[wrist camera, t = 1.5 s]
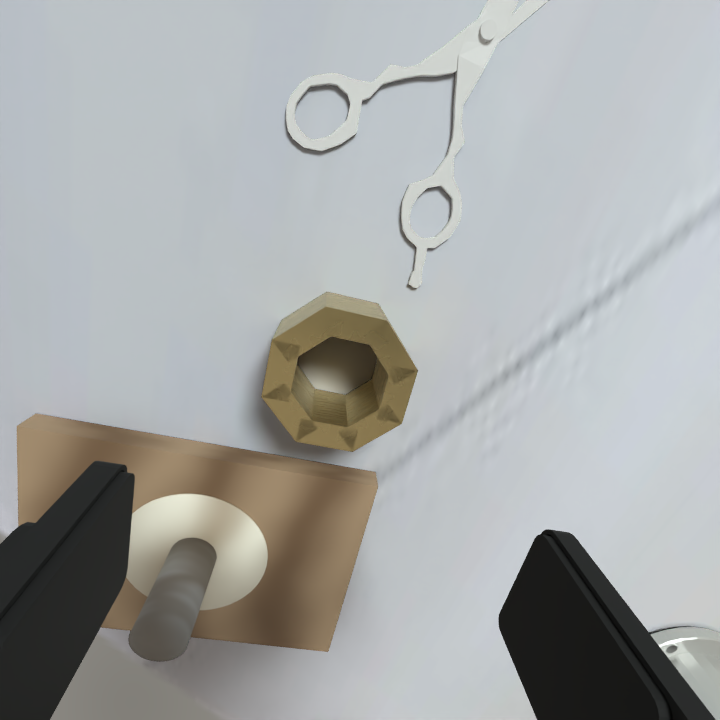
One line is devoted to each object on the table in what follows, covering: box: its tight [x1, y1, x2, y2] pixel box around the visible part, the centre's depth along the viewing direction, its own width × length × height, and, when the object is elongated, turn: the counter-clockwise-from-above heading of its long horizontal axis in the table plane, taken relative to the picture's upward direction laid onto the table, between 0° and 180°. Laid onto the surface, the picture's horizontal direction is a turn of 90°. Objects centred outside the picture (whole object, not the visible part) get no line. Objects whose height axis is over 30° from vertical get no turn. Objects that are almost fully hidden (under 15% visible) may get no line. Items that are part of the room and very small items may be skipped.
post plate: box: [17, 414, 378, 661], centre depth 23 cm, size 20×14×7 cm
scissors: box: [286, 0, 548, 288], centre depth 19 cm, size 11×1×20 cm
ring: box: [262, 292, 418, 452], centre depth 21 cm, size 7×7×4 cm
